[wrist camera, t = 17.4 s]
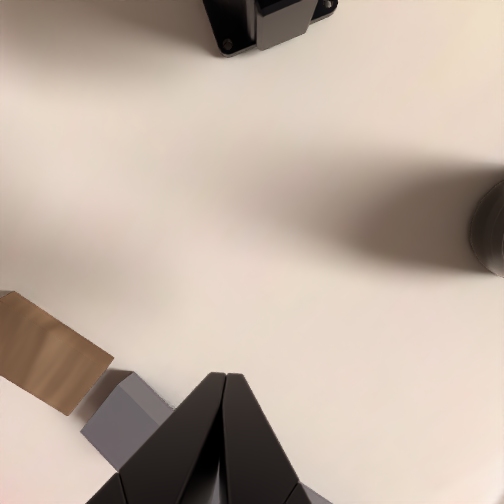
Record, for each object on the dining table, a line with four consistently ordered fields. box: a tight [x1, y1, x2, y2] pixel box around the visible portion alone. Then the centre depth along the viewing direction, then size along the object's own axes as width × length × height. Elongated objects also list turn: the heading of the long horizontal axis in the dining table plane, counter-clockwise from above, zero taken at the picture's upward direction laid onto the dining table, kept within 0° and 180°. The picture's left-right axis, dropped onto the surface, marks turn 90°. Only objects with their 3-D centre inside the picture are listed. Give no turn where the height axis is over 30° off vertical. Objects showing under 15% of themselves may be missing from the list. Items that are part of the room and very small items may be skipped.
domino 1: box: [0, 291, 114, 416], centre depth 22 cm, size 2×5×8 cm
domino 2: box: [80, 372, 173, 472], centre depth 22 cm, size 2×5×8 cm
